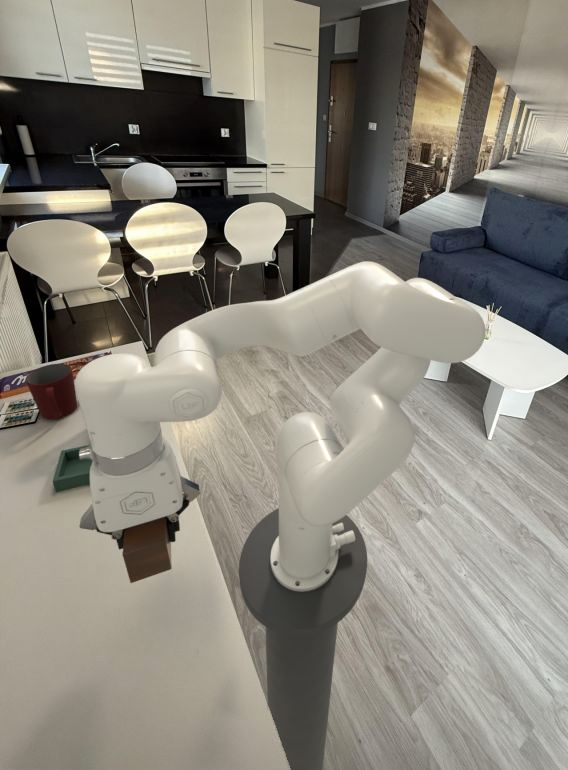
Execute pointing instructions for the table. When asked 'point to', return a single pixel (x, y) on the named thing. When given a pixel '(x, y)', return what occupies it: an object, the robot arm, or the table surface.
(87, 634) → the table surface
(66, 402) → the mug
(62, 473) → the tray
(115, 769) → the table surface
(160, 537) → the walnut box
